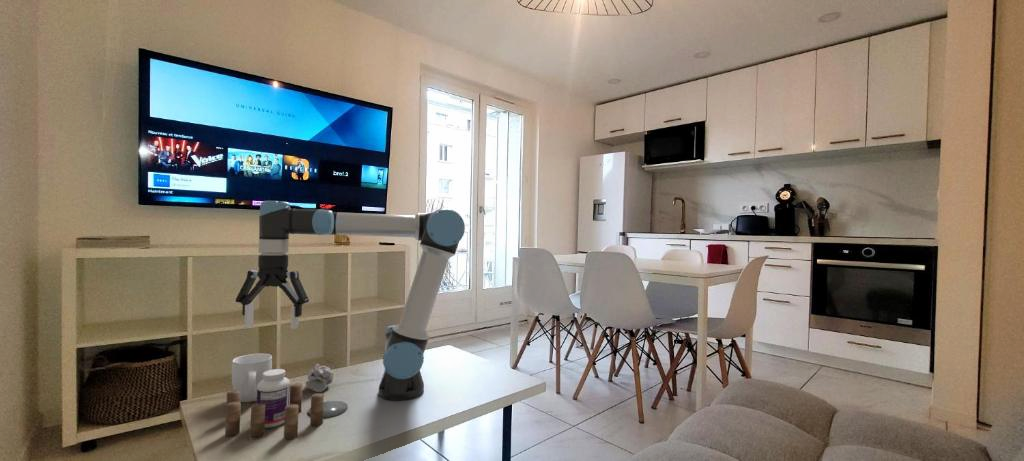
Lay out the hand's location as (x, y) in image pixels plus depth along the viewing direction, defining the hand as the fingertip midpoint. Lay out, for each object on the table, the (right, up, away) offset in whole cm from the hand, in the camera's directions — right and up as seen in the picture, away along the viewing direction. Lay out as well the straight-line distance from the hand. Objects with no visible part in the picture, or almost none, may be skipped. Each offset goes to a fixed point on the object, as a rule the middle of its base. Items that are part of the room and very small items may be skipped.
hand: (271, 327), depth 118 cm
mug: (-14, -27, +13) cm, 33 cm away
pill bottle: (+2, -27, -2) cm, 27 cm away
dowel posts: (+2, -27, -2) cm, 27 cm away
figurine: (+3, -27, +25) cm, 37 cm away
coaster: (+13, -27, +7) cm, 31 cm away
